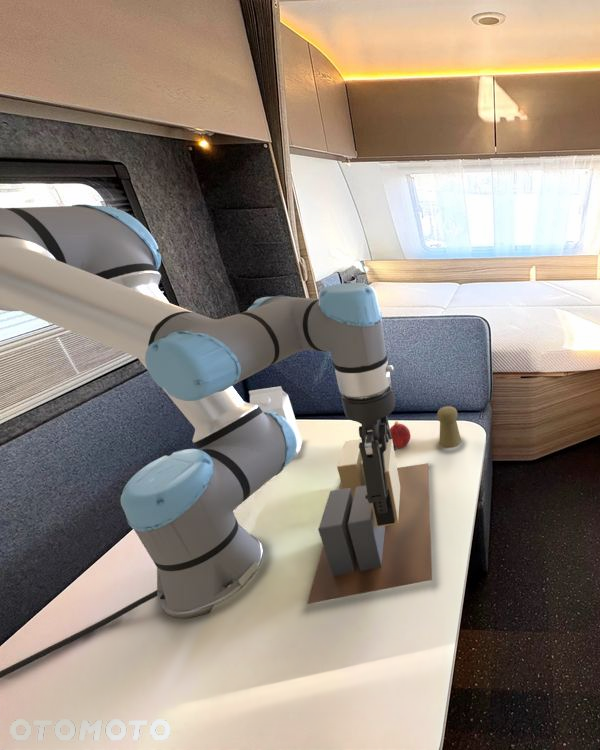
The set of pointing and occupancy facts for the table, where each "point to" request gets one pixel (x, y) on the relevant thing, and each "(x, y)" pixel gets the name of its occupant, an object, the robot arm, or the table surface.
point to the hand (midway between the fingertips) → (388, 501)
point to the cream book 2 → (391, 480)
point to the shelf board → (389, 547)
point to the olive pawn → (448, 427)
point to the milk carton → (277, 406)
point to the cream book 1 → (351, 466)
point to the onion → (400, 435)
